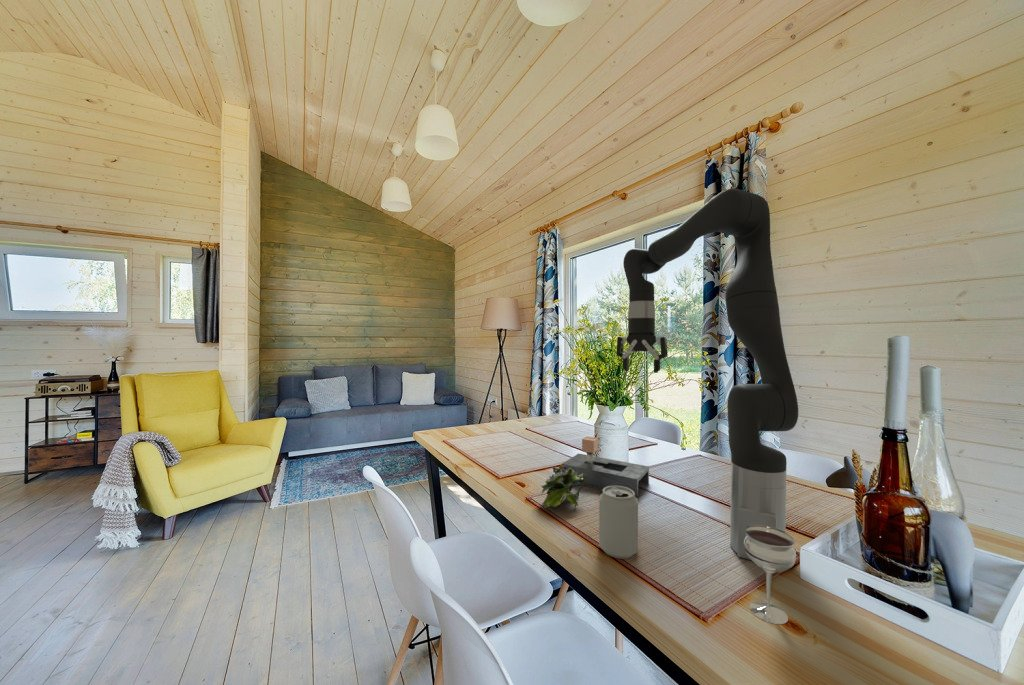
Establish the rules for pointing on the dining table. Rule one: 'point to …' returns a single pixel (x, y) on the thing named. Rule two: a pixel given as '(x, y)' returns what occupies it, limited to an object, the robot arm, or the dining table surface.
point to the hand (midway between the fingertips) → (641, 371)
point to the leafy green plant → (562, 486)
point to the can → (618, 522)
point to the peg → (590, 447)
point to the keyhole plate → (609, 472)
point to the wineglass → (769, 564)
